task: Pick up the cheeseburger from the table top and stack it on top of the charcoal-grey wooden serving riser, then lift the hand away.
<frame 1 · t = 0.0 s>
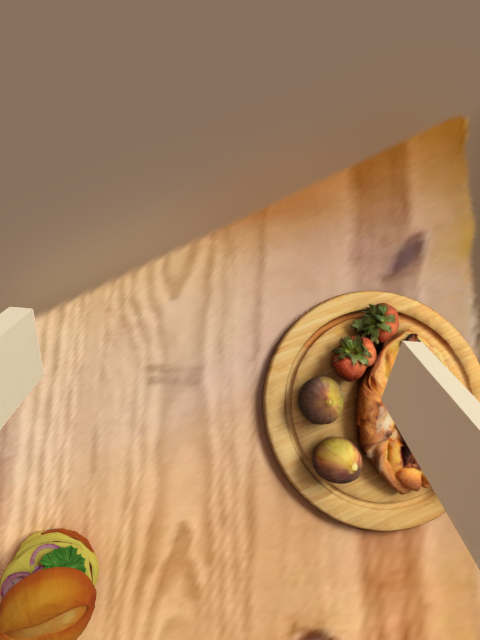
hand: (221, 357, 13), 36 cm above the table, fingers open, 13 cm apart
cheeseburger: (64, 568, 43), on the table
wooden plate with food: (373, 403, 50), on the table
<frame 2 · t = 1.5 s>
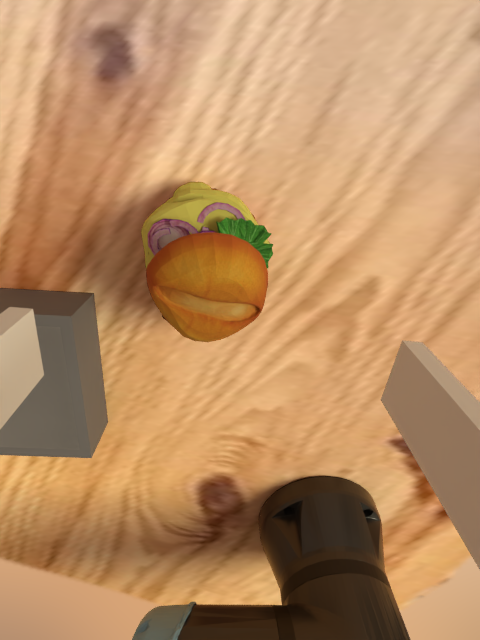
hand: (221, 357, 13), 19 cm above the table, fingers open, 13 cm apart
cheeseburger: (211, 250, 31), on the table
serving riser: (24, 359, 35), on the table
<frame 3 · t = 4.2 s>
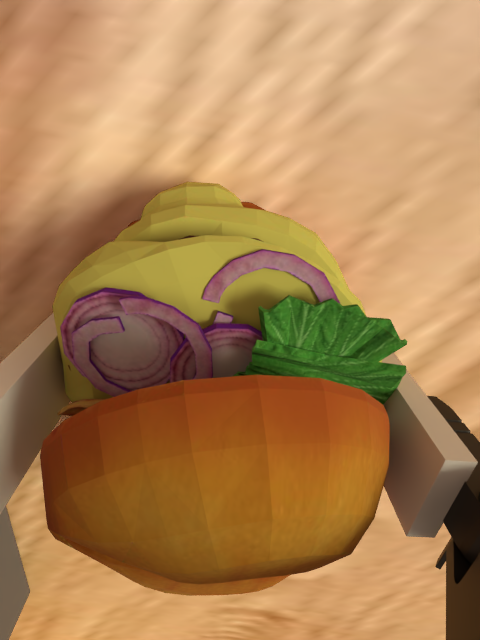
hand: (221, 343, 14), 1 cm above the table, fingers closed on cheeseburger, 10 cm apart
cheeseburger: (226, 329, 14), on the table, touching gripper
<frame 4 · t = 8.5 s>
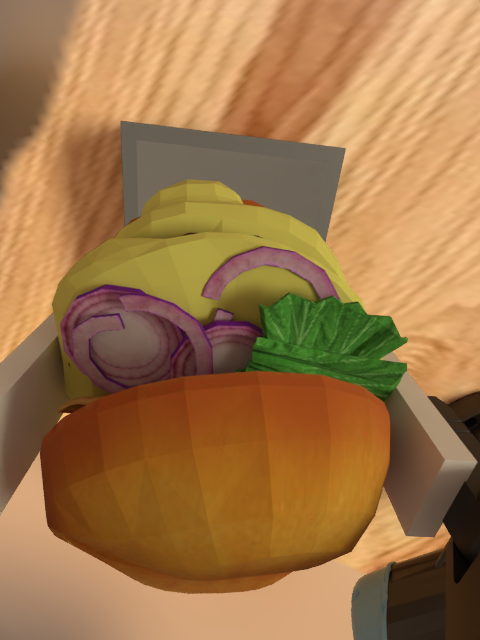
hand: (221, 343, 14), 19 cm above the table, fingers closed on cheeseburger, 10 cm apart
cheeseburger: (226, 327, 14), point 19 cm above the table, touching gripper
serving riser: (226, 231, 31), on the table
when the fingers open (7 cm above the table, at t = 12.6 s): cheeseburger drops 1 cm, resting on serving riser.
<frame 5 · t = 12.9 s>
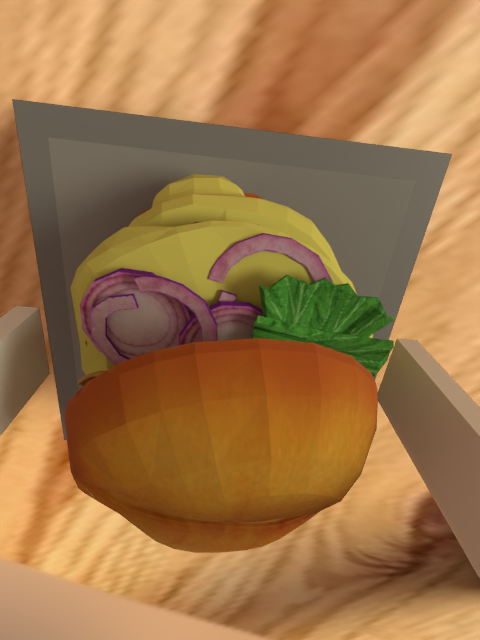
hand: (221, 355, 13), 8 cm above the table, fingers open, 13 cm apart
cheeseburger: (229, 314, 15), point 5 cm above the table, touching serving riser
serving riser: (224, 282, 20), on the table
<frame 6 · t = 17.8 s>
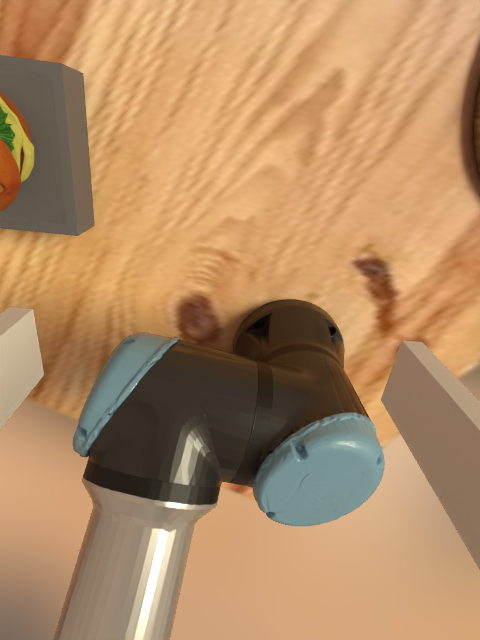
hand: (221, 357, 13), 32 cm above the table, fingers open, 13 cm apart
serving riser: (17, 147, 38), on the table
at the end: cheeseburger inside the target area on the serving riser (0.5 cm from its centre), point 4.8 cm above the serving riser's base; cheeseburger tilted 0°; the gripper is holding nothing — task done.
